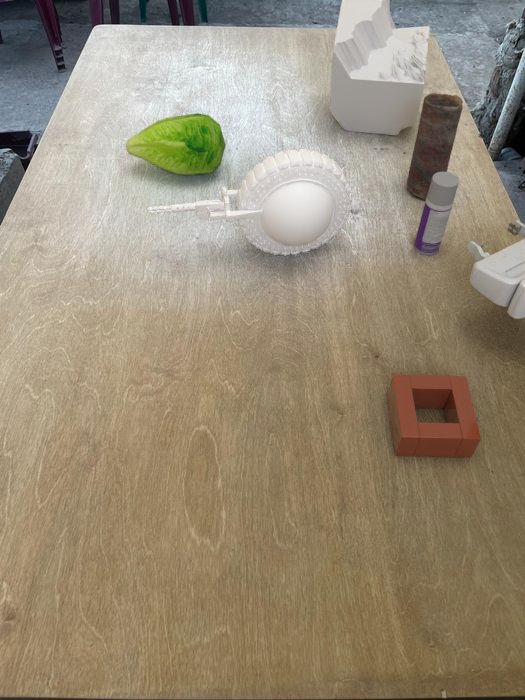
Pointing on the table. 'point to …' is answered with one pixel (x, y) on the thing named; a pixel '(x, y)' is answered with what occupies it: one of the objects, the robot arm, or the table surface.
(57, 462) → the table surface
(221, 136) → the lettuce
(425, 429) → the holder
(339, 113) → the white carved sculpture block
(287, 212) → the tracked sphere vehicle
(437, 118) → the rusty brown cylinder
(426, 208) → the container
